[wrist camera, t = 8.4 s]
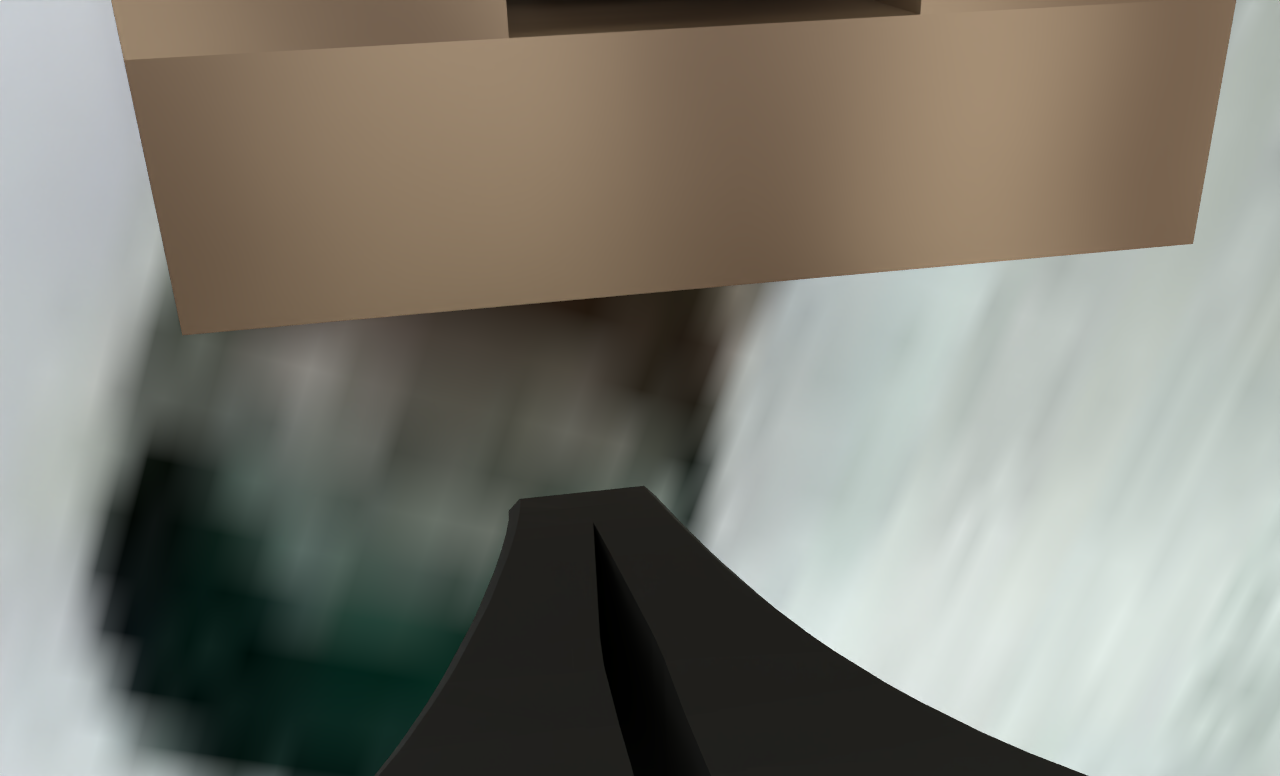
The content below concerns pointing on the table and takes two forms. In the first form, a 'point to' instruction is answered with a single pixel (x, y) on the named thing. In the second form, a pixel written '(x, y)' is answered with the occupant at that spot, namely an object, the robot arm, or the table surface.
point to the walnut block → (650, 143)
